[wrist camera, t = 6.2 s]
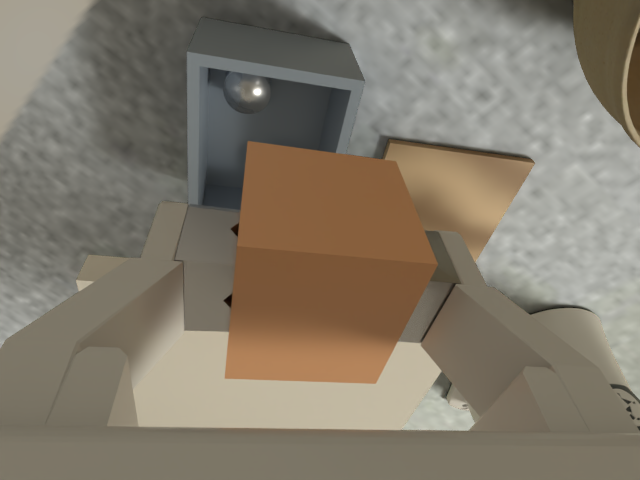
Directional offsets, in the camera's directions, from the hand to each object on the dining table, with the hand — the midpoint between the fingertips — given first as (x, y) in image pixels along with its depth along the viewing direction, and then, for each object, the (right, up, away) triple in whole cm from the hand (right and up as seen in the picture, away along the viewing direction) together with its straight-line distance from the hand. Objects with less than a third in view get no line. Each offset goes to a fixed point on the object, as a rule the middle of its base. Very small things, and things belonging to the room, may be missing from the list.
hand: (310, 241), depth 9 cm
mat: (+10, +2, +28) cm, 30 cm away
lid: (-1, -4, +5) cm, 7 cm away
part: (-4, +10, +18) cm, 21 cm away
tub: (-4, +8, +21) cm, 23 cm away
